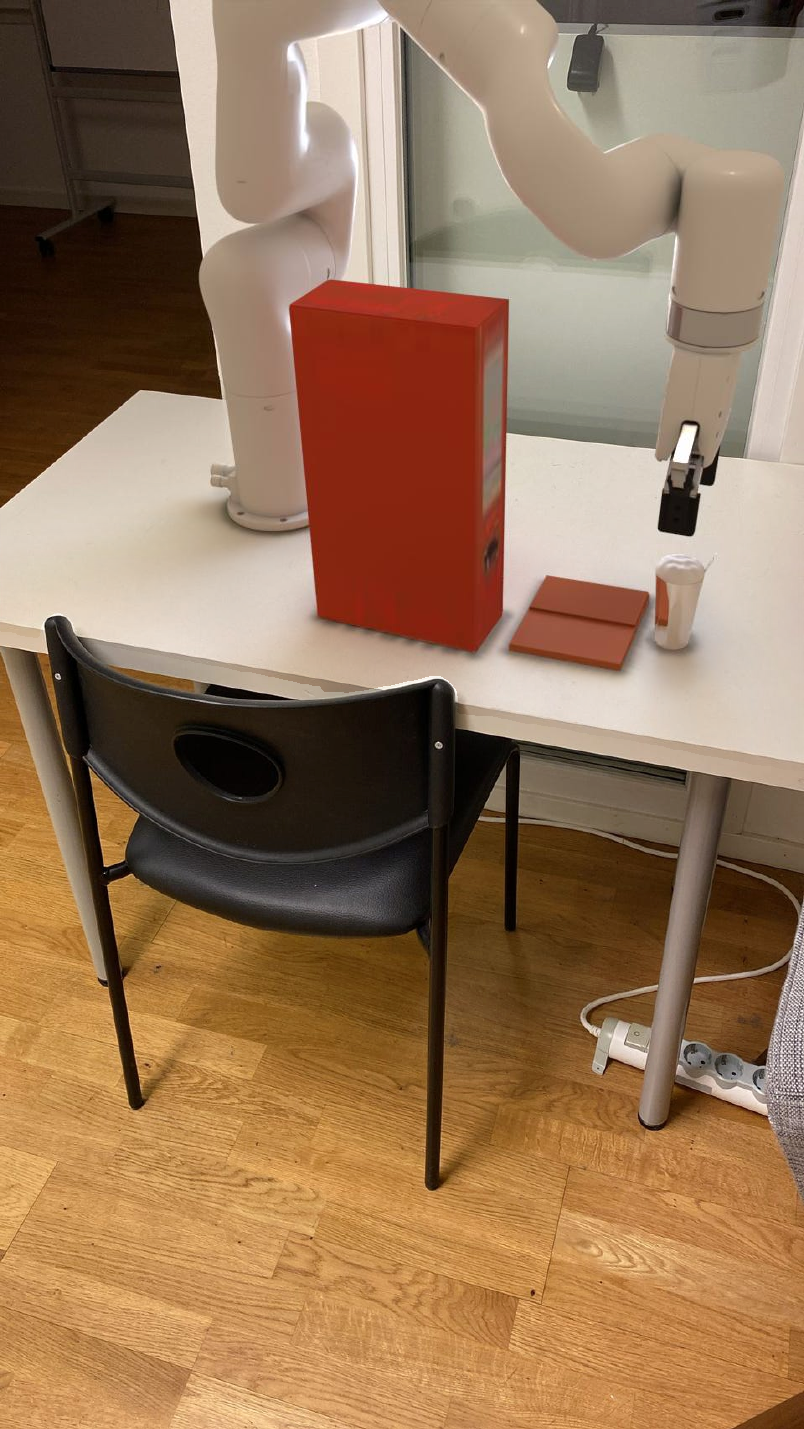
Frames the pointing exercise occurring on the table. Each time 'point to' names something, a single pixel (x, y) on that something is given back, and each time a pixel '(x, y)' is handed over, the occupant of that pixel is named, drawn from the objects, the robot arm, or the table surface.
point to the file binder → (404, 456)
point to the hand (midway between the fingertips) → (686, 507)
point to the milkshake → (677, 598)
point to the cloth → (581, 622)
